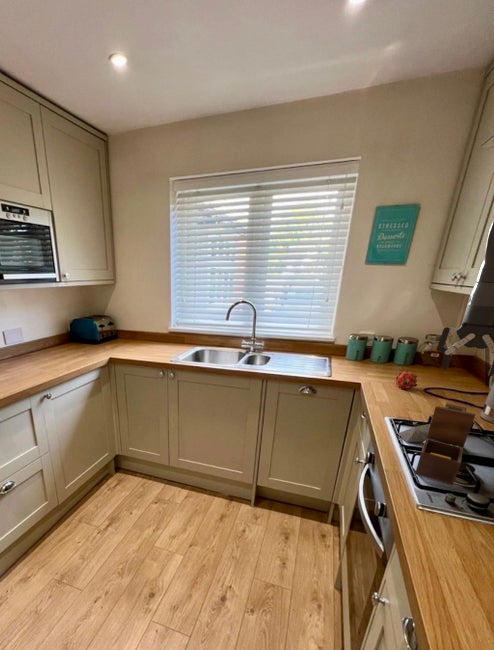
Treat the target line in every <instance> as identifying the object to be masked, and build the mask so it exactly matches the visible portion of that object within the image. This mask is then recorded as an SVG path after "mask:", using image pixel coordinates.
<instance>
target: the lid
mask: <svg viewBox="0 0 494 650" xmlns="http://www.w3.org/2000/svg"><path fill="white" fill-rule="evenodd" d="M467 409H468V406H465V405H461V404H457V403H450V402H445V405H444V406H439V405H435V407H434V410H433V413H432V418H431V421H430V423H429V424H430V428H429V431H428V434H427V438H429V439H430V440H434V441H438V442H442V443H446V444H450V445H454V446H458V447H462V448H464V446H465V444H466V442H467V438H468V436H469V434H470V431H471V428H472V426H473V423H474V420H475V417H476V415H477V414H476V413H474V412H469V411H467Z"/></svg>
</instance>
